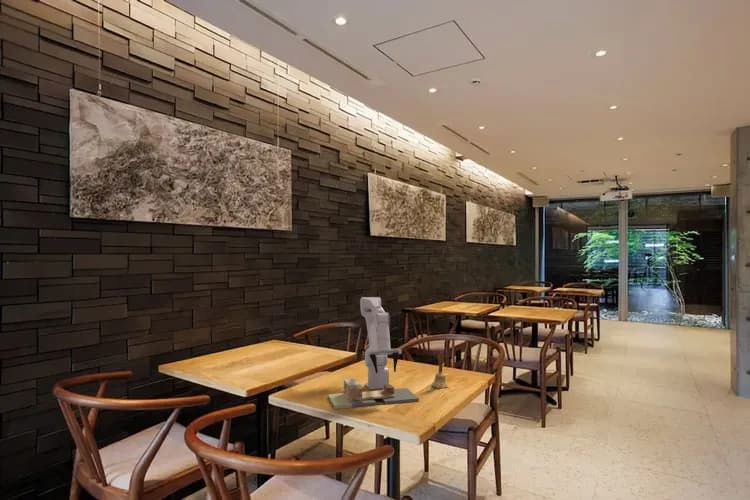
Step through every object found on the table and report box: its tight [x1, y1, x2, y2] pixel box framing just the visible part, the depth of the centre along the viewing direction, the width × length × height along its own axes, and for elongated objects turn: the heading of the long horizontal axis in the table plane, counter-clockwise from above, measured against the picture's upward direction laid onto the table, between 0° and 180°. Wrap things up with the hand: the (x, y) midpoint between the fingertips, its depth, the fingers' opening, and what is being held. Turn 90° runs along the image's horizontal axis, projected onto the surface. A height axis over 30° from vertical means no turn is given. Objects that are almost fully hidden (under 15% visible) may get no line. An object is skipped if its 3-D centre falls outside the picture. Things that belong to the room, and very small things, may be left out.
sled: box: [345, 383, 395, 401], centre depth 179 cm, size 20×7×4 cm, turn 107°
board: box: [327, 387, 420, 410], centre depth 180 cm, size 36×14×1 cm, turn 107°
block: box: [346, 385, 359, 398], centre depth 177 cm, size 4×4×4 cm
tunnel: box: [343, 378, 364, 403], centre depth 177 cm, size 5×12×6 cm, turn 17°
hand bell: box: [430, 351, 450, 389], centre depth 200 cm, size 8×8×16 cm
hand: (385, 372), depth 178 cm, fingers open, 7 cm apart
